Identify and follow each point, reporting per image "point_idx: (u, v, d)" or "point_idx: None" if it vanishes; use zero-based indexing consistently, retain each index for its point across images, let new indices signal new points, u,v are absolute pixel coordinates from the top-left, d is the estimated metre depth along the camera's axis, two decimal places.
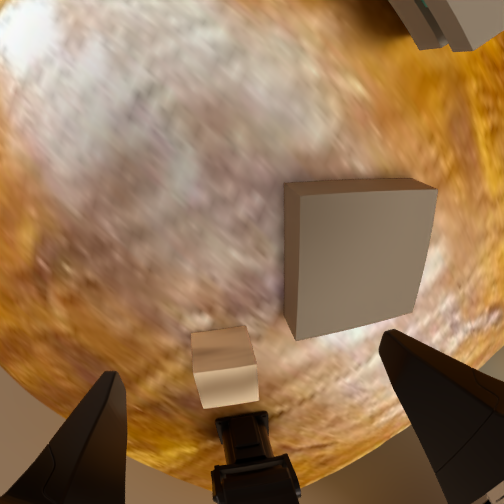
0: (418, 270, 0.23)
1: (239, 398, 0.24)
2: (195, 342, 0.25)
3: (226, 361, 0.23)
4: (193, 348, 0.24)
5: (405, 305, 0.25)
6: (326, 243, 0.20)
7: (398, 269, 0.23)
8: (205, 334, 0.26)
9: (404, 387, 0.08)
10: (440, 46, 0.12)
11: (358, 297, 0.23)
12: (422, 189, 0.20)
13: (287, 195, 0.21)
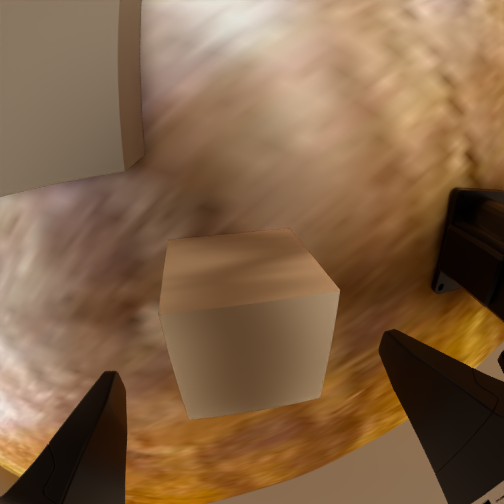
0: None
1: (308, 340, 0.09)
2: None
3: None
4: None
5: None
6: None
7: None
8: None
9: (404, 387, 0.08)
10: None
11: (16, 22, 0.04)
12: None
13: None
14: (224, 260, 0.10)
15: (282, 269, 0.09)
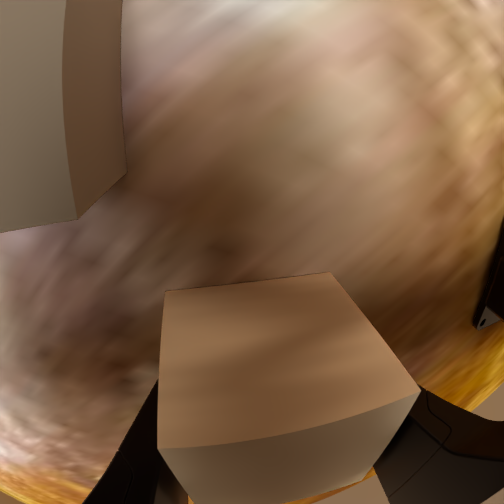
0: None
1: (366, 444, 0.05)
2: None
3: None
4: None
5: None
6: None
7: None
8: None
9: None
10: None
11: None
12: None
13: None
14: (249, 337, 0.07)
15: (337, 356, 0.06)
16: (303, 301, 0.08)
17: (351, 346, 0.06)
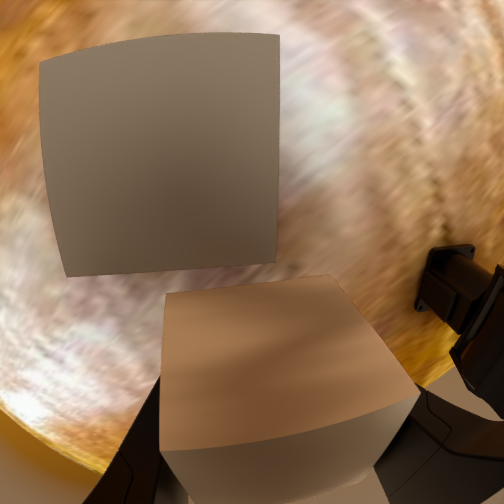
0: (177, 46, 0.11)
1: (366, 446, 0.05)
2: None
3: None
4: None
5: (256, 55, 0.12)
6: (114, 240, 0.15)
7: (166, 95, 0.12)
8: None
9: None
10: None
11: (211, 169, 0.14)
12: (40, 92, 0.11)
13: None
14: (250, 340, 0.07)
15: (338, 358, 0.06)
16: (304, 303, 0.08)
17: (351, 348, 0.06)
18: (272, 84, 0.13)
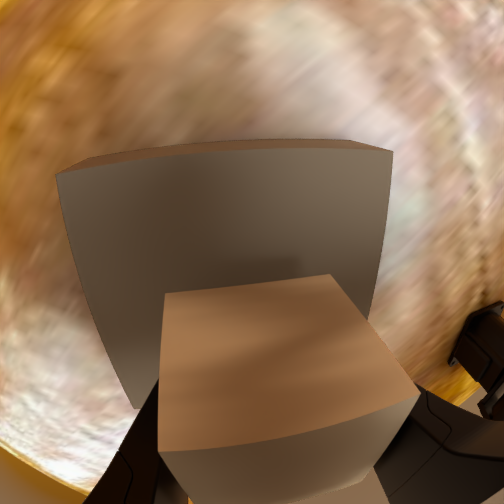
0: (272, 168, 0.10)
1: (365, 446, 0.05)
2: None
3: None
4: None
5: (367, 181, 0.10)
6: None
7: (258, 238, 0.11)
8: None
9: None
10: None
11: None
12: (66, 220, 0.09)
13: None
14: (249, 340, 0.07)
15: (337, 358, 0.06)
16: (303, 303, 0.08)
17: (351, 349, 0.06)
18: (379, 217, 0.11)
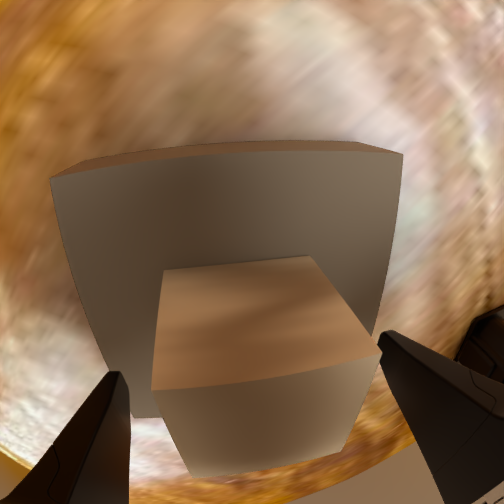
0: (279, 171, 0.09)
1: (337, 405, 0.07)
2: None
3: None
4: None
5: (376, 185, 0.10)
6: None
7: (264, 245, 0.10)
8: None
9: (401, 388, 0.08)
10: None
11: None
12: (61, 226, 0.09)
13: None
14: (234, 305, 0.08)
15: (308, 321, 0.07)
16: (283, 278, 0.09)
17: (321, 314, 0.07)
18: (388, 223, 0.11)
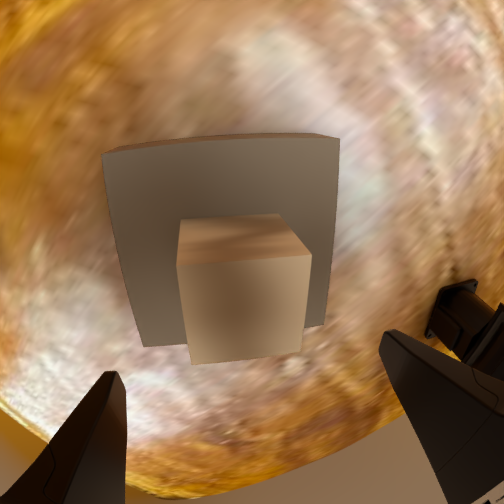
0: (250, 151, 0.14)
1: (288, 295, 0.12)
2: None
3: None
4: None
5: (319, 160, 0.15)
6: None
7: (241, 200, 0.15)
8: None
9: (404, 387, 0.08)
10: None
11: None
12: (106, 187, 0.14)
13: None
14: (225, 233, 0.13)
15: (269, 240, 0.12)
16: (258, 223, 0.14)
17: (278, 238, 0.13)
18: (332, 187, 0.16)
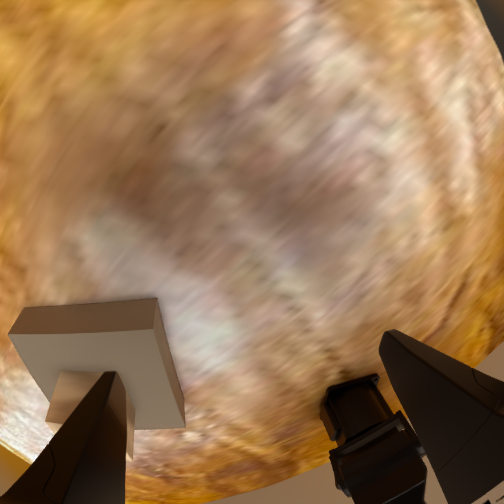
0: (89, 340, 0.17)
1: None
2: None
3: None
4: None
5: (140, 344, 0.18)
6: None
7: (94, 365, 0.18)
8: None
9: (404, 387, 0.08)
10: None
11: (133, 396, 0.20)
12: None
13: None
14: (76, 395, 0.16)
15: None
16: None
17: None
18: (156, 358, 0.19)
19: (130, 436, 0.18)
